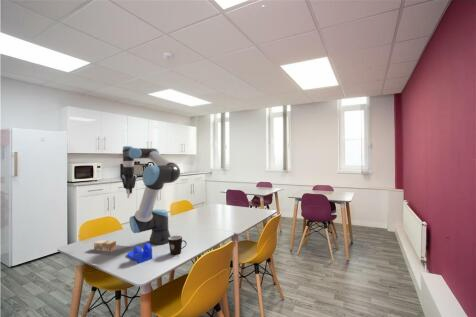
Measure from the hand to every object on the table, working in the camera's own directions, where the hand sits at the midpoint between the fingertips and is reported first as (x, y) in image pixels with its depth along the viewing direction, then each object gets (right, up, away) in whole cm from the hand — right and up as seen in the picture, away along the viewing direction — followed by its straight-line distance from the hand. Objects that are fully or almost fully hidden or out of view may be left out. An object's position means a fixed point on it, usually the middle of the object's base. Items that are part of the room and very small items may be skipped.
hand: (129, 197), depth 179 cm
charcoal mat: (-3, -32, -21) cm, 38 cm away
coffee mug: (+44, -31, -30) cm, 61 cm away
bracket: (+21, -32, -33) cm, 50 cm away
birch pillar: (-1, -29, -21) cm, 36 cm away
